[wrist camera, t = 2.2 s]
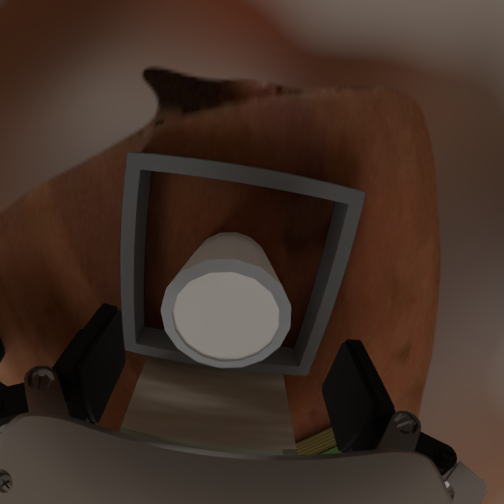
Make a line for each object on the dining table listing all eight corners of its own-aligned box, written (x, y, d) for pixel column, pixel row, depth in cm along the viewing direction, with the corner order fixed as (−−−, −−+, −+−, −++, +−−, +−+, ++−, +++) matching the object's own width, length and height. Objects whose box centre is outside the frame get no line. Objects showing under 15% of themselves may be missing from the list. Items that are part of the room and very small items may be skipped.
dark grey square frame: (302, 357, 24) (307, 375, 21) (134, 332, 22) (125, 350, 20) (351, 187, 19) (365, 192, 17) (141, 152, 18) (127, 152, 15)
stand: (257, 436, 28) (262, 511, 18) (155, 422, 27) (138, 496, 17) (282, 368, 24) (299, 465, 14) (150, 349, 23) (115, 443, 13)
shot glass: (188, 216, 19) (162, 248, 13) (285, 230, 20) (306, 269, 13) (181, 302, 22) (160, 359, 15) (267, 314, 22) (276, 374, 16)
